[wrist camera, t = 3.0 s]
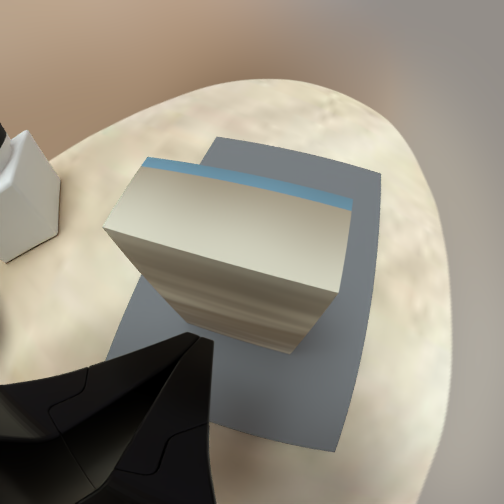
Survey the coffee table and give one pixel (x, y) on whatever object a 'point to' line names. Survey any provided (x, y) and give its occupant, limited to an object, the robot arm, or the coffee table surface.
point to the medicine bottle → (25, 195)
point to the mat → (317, 339)
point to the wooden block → (234, 248)
